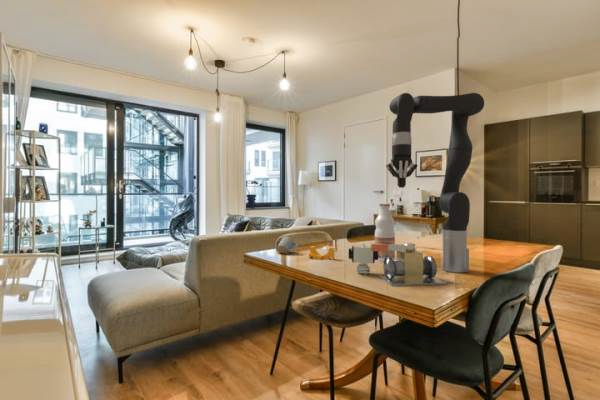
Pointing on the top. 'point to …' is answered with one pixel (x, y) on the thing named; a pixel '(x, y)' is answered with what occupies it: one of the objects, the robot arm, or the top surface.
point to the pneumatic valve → (362, 257)
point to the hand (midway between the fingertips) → (401, 187)
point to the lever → (393, 247)
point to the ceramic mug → (286, 245)
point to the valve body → (410, 269)
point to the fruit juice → (384, 232)
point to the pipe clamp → (316, 255)
